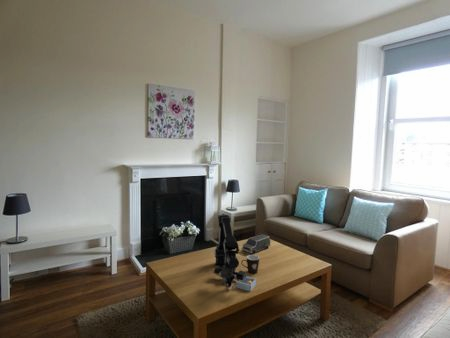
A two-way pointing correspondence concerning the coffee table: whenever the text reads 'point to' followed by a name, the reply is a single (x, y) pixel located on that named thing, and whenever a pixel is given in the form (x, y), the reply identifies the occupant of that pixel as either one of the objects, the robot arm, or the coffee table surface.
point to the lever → (232, 282)
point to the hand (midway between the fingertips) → (229, 286)
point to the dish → (244, 285)
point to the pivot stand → (224, 281)
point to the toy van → (256, 243)
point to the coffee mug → (252, 263)
